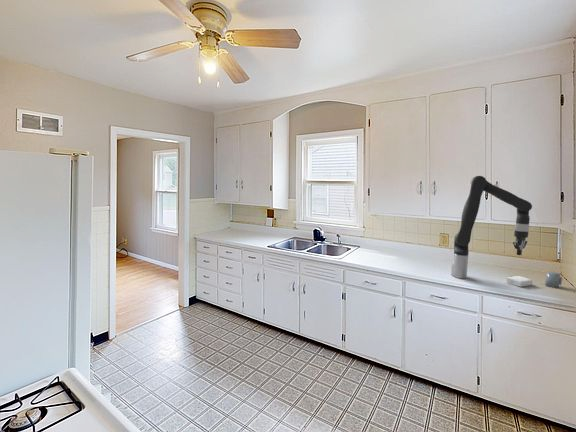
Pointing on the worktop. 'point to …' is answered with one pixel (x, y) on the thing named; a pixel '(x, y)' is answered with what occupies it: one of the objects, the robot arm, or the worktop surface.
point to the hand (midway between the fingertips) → (518, 254)
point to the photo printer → (519, 281)
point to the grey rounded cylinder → (553, 279)
